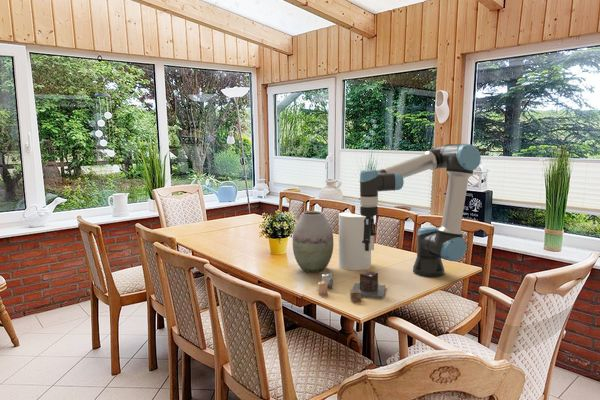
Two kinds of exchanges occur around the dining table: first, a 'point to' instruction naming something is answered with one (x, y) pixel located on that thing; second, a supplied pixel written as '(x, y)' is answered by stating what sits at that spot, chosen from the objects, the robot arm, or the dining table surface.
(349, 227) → the cylinder
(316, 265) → the vase
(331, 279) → the metal-capped glass jar
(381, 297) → the slate board
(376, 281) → the box
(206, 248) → the dining table surface
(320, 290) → the peach rounded capsule
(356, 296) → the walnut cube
